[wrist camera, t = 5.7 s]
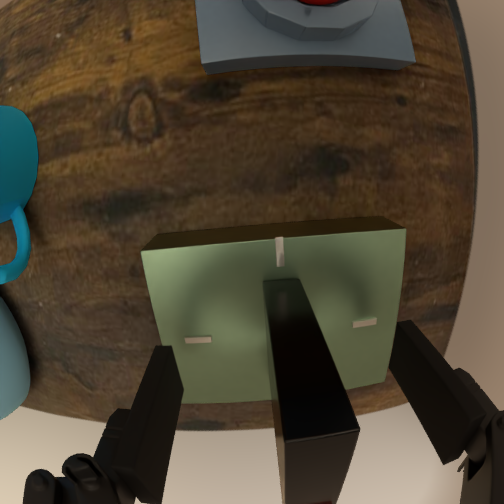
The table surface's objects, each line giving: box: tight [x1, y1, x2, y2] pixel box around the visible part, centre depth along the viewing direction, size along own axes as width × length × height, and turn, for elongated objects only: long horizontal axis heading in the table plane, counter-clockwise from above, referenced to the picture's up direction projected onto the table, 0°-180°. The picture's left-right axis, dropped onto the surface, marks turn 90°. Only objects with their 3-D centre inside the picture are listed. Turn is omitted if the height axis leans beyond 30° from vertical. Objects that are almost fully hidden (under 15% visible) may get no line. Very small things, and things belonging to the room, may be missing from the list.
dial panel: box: [140, 216, 406, 403], centre depth 17 cm, size 13×10×3 cm
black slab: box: [262, 279, 360, 504], centre depth 11 cm, size 6×2×9 cm, turn 5°
